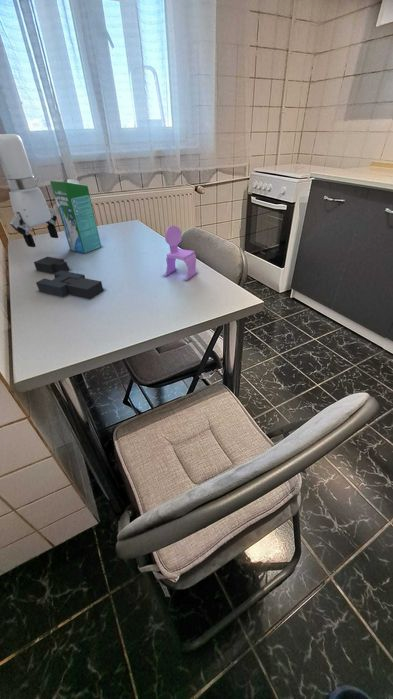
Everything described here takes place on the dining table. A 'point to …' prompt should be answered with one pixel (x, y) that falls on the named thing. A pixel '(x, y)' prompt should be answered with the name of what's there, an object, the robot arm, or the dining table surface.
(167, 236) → the toy chair
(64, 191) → the milk carton
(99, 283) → the pad
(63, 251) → the dining table surface
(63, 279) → the pad
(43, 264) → the pad
